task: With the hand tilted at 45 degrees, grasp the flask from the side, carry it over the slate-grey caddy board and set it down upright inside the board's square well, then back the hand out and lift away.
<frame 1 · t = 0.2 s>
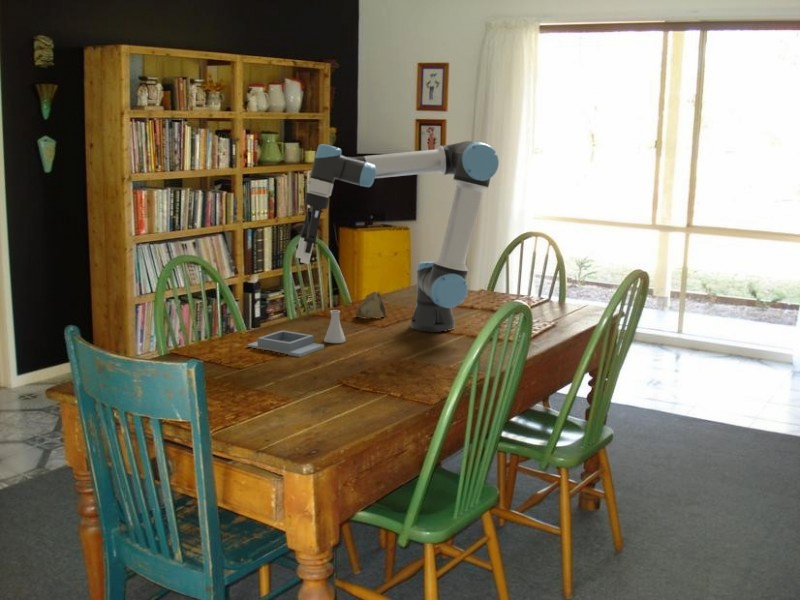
hand: (301, 260, 287), 27 cm above the table, tool pointing down, fingers open, 13 cm apart
caddy board: (285, 347, 287), on the table
flask: (335, 342, 296), on the table
rock: (370, 318, 331), on the table
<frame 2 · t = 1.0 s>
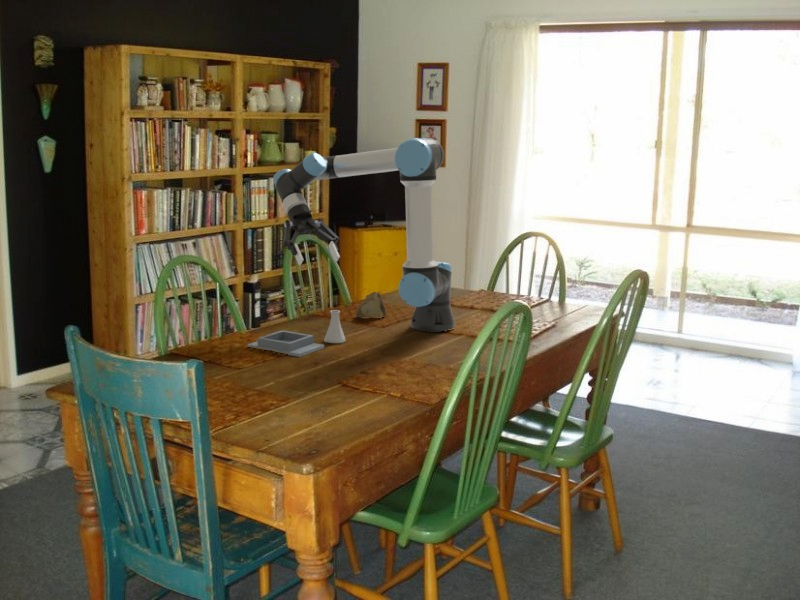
hand: (319, 261, 299), 25 cm above the table, tool tilted 45°, fingers open, 13 cm apart
nothing on the table moved.
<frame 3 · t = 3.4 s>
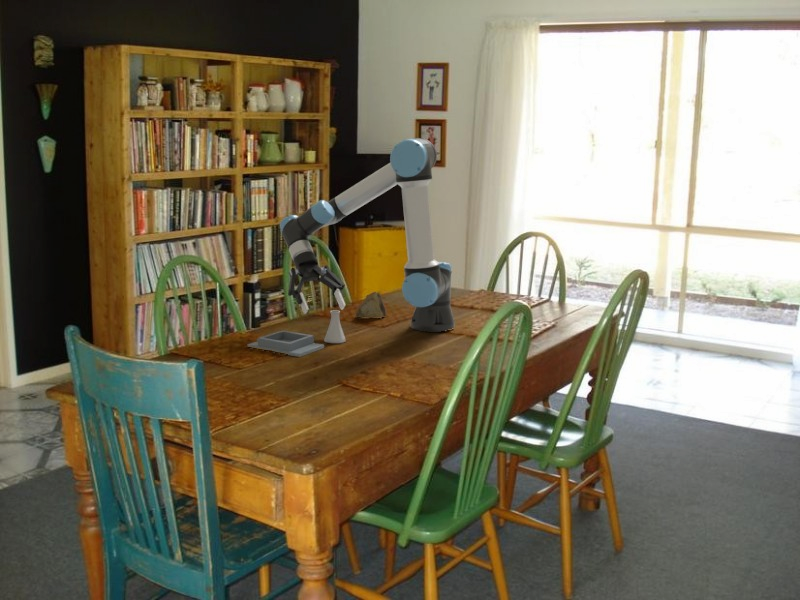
hand: (325, 309, 298), 10 cm above the table, tool tilted 45°, fingers open, 13 cm apart
nothing on the table moved.
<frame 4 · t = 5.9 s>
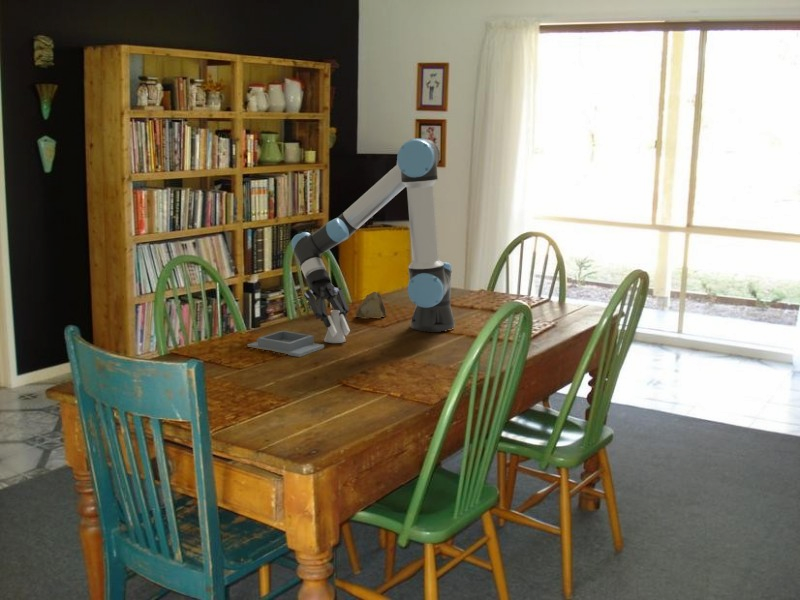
hand: (341, 333, 292), 3 cm above the table, tool tilted 45°, fingers closed on flask, 4 cm apart
flask: (335, 341, 296), on the table, touching gripper
everything else where it was.
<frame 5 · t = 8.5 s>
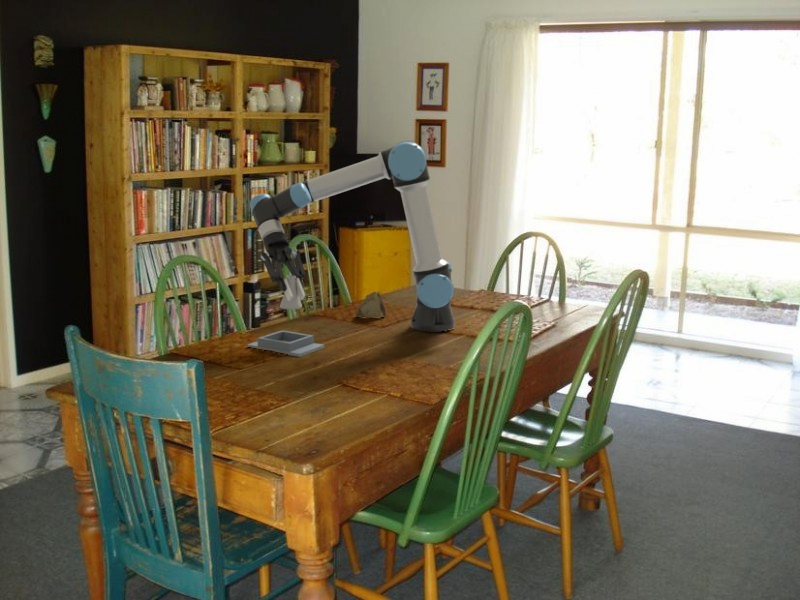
hand: (296, 298, 282), 16 cm above the table, tool tilted 45°, fingers closed on flask, 3 cm apart
flask: (290, 308, 286), point 12 cm above the table, touching gripper
everything else where it was.
when the fingers open (6 cm above the table, at t = 10.7 s): flask stays where it is, resting on caddy board.
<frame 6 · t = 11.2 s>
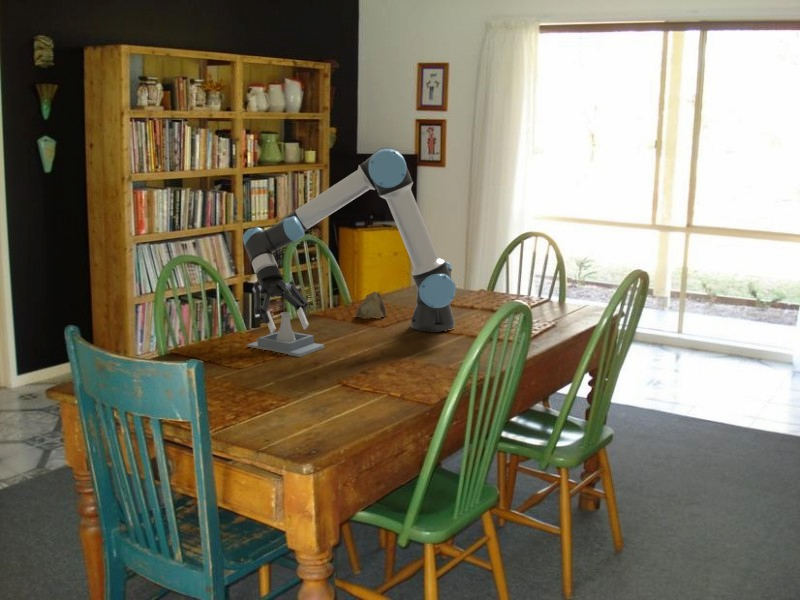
hand: (290, 329, 283), 7 cm above the table, tool tilted 45°, fingers open, 10 cm apart
flask: (285, 345, 287), point 1 cm above the table, touching caddy board
everything else where it was.
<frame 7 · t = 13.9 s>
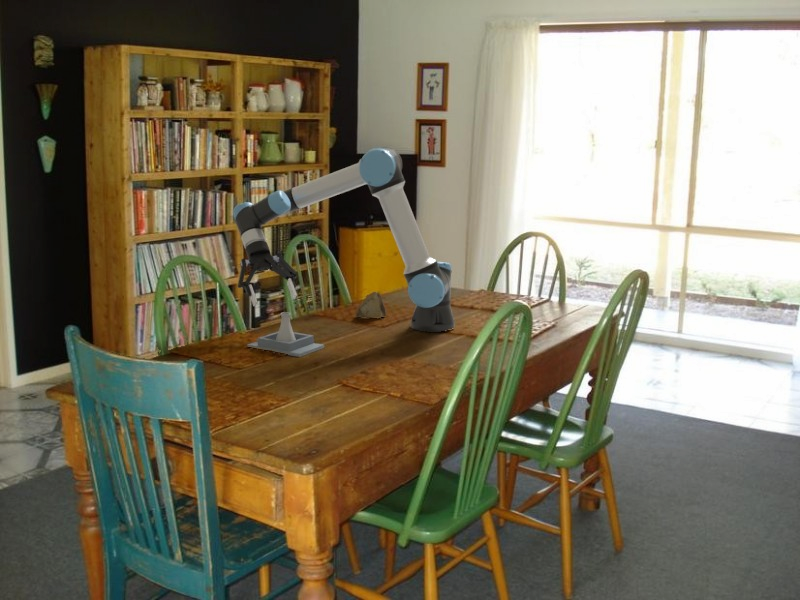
hand: (275, 300, 296), 12 cm above the table, tool tilted 40°, fingers open, 13 cm apart
nothing on the table moved.
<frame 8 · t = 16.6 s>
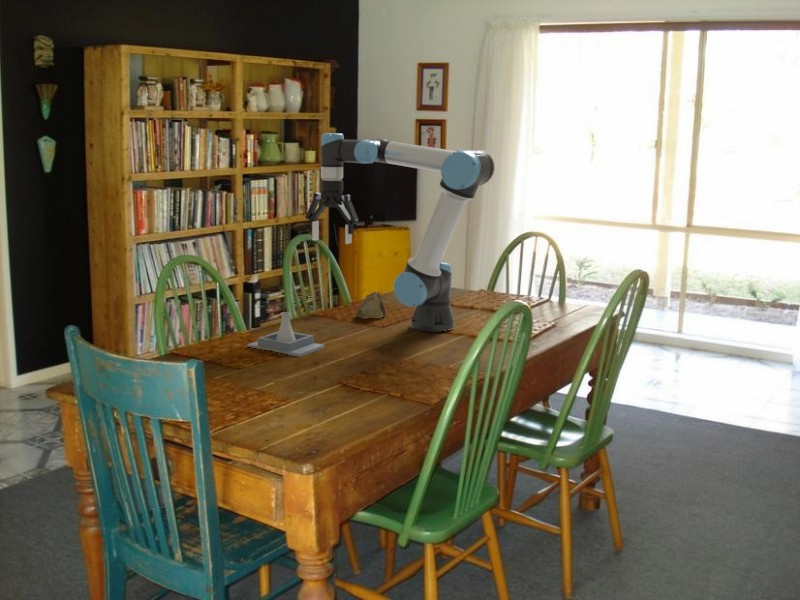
hand: (331, 241, 314), 29 cm above the table, tool pointing down, fingers open, 13 cm apart
nothing on the table moved.
at the end: flask 0.1 cm off-centre on the caddy board, point 0.8 cm above the caddy board's base; flask tilted 0°; the gripper is holding nothing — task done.
